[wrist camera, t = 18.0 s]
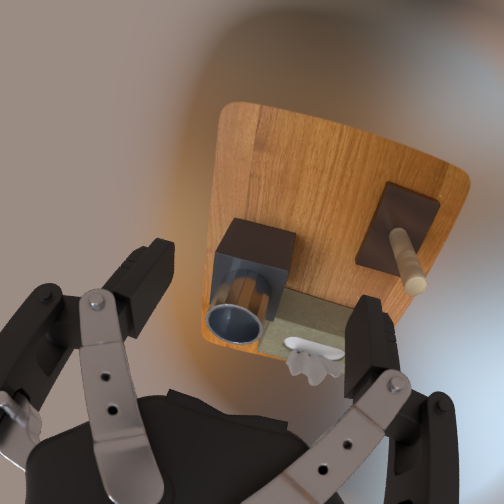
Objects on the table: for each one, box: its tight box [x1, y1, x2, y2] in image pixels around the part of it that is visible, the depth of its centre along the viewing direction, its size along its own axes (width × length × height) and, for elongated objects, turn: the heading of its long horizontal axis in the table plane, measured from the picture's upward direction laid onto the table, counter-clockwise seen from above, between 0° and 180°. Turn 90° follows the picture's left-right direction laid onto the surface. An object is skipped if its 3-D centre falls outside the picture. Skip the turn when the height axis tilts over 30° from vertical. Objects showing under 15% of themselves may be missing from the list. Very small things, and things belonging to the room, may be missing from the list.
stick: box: [389, 228, 427, 296], centre depth 37 cm, size 3×3×12 cm
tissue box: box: [257, 288, 354, 386], centre depth 50 cm, size 19×10×16 cm, turn 76°
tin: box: [205, 269, 272, 345], centre depth 40 cm, size 7×7×7 cm
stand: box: [210, 218, 296, 322], centre depth 47 cm, size 10×10×10 cm
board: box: [355, 182, 440, 277], centre depth 43 cm, size 14×9×2 cm, turn 169°
